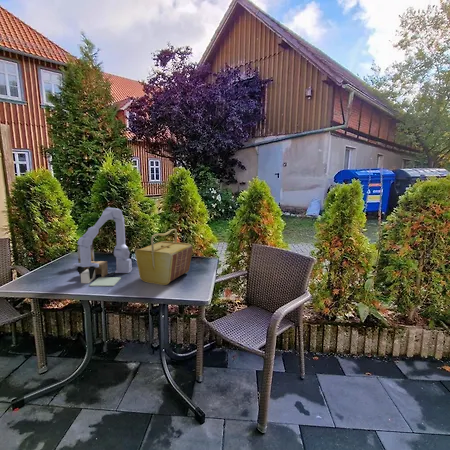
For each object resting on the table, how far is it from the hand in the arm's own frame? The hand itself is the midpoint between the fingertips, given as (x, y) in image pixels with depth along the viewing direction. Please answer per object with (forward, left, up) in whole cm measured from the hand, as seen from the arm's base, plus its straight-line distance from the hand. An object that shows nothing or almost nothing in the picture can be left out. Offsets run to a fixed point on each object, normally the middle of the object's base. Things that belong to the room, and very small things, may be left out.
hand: (86, 278), depth 178 cm
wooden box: (0, -11, -2) cm, 11 cm away
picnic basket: (-46, -8, -2) cm, 47 cm away
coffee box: (+13, -30, -2) cm, 33 cm away
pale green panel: (-12, +1, -2) cm, 12 cm away
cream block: (0, -2, -2) cm, 3 cm away
